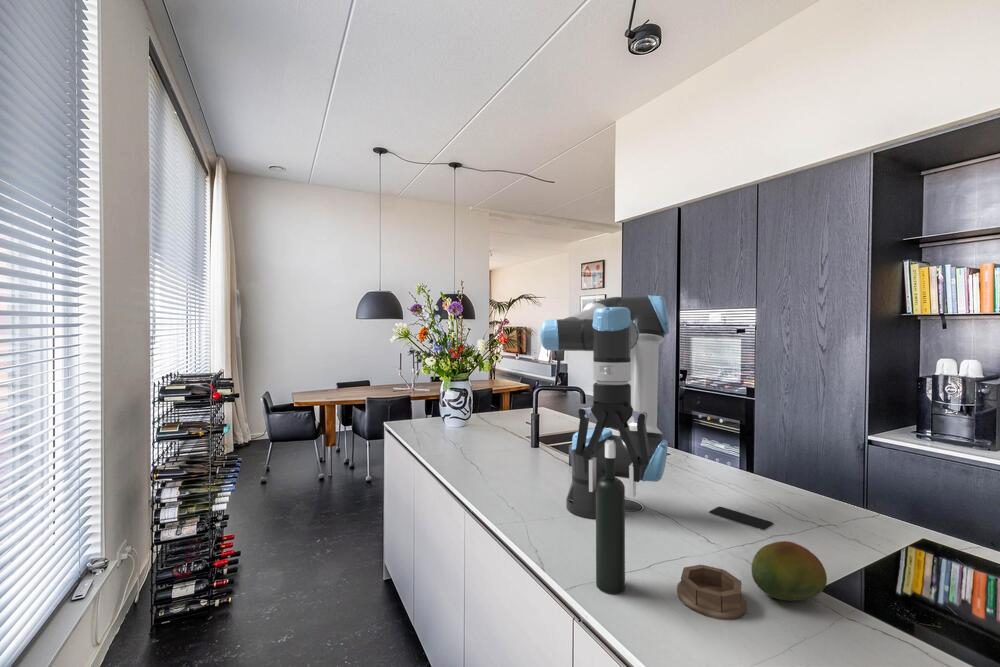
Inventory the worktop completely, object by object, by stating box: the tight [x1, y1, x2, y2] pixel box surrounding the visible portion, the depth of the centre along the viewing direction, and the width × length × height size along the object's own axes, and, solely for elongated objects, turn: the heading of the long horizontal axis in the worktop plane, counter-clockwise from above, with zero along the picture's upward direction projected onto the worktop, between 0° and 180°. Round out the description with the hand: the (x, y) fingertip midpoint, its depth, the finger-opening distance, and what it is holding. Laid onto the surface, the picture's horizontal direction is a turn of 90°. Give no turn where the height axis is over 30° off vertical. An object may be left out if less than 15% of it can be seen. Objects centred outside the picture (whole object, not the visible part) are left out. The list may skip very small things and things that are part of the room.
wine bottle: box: [595, 440, 626, 595], centre depth 91 cm, size 6×6×30 cm
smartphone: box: [708, 506, 775, 532], centre depth 124 cm, size 7×1×15 cm
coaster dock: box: [676, 564, 748, 620], centre depth 86 cm, size 12×12×4 cm
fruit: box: [750, 540, 828, 601], centre depth 87 cm, size 12×13×10 cm
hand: (612, 493), depth 91 cm, fingers open, 8 cm apart
